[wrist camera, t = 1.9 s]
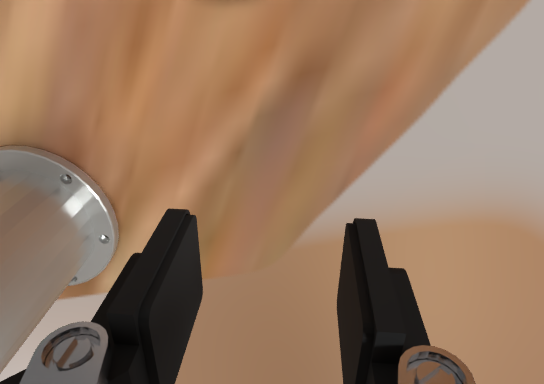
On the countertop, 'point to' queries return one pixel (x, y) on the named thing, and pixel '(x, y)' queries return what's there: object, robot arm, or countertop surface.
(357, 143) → the countertop surface
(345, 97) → the countertop surface
